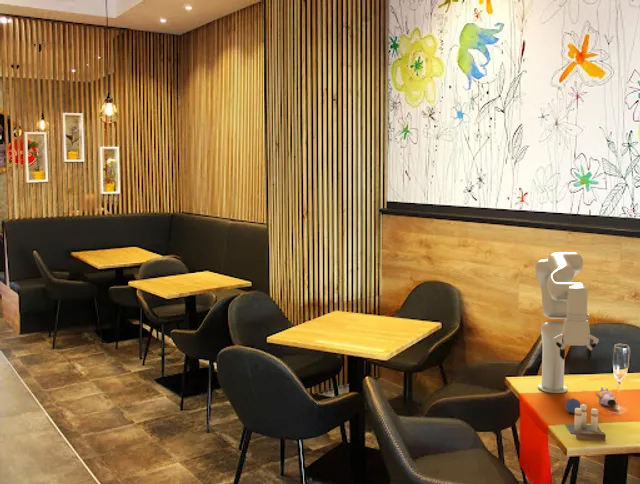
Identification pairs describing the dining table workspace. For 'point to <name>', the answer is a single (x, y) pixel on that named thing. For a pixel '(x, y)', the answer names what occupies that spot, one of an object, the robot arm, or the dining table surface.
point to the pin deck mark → (588, 428)
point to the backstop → (590, 435)
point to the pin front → (583, 415)
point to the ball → (572, 405)
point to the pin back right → (577, 419)
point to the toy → (606, 397)
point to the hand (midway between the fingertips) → (575, 358)
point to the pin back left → (594, 420)
